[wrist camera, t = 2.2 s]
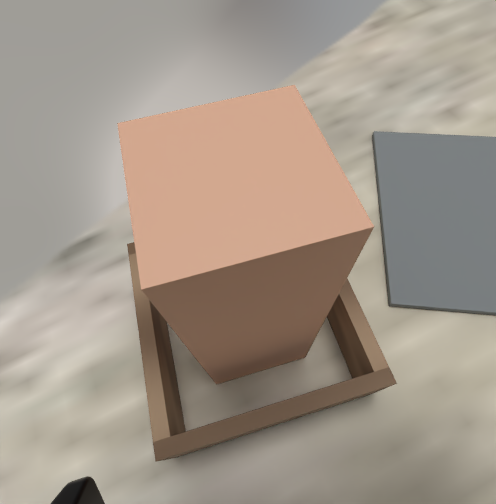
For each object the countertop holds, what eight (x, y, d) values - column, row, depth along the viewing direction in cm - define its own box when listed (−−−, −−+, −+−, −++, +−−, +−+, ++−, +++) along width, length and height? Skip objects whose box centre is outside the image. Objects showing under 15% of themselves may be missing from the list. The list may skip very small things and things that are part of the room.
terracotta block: (305, 357, 19) (374, 226, 7) (216, 384, 18) (140, 289, 7) (276, 277, 21) (294, 84, 10) (197, 299, 20) (117, 123, 9)
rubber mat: (650, 328, 19) (658, 326, 18) (389, 306, 20) (391, 303, 20) (564, 144, 25) (568, 140, 25) (372, 135, 27) (373, 131, 26)
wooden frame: (373, 393, 18) (396, 383, 15) (175, 457, 17) (155, 461, 13) (302, 230, 23) (309, 197, 19) (146, 272, 21) (127, 244, 18)
